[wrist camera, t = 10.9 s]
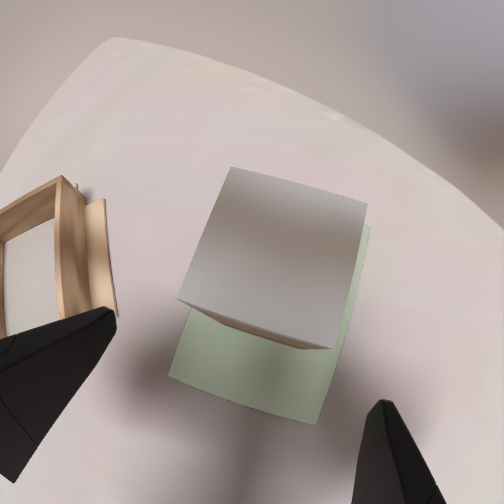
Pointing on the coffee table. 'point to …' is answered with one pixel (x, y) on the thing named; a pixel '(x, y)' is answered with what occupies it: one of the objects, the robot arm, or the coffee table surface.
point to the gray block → (276, 260)
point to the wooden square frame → (66, 245)
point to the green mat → (261, 363)
